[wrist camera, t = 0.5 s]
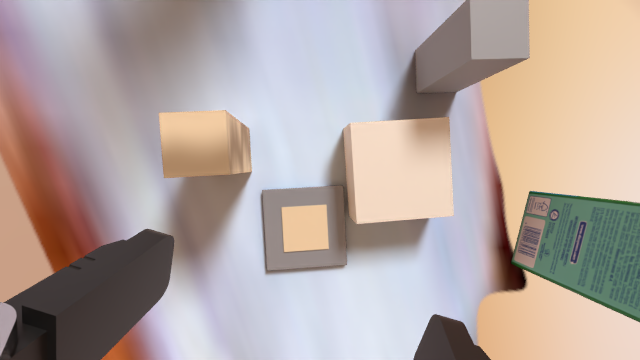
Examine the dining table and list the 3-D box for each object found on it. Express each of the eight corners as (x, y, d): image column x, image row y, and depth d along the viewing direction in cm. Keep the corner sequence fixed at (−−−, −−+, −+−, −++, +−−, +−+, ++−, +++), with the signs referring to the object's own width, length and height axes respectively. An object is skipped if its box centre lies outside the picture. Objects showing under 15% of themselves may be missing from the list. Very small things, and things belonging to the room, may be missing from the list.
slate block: (415, 50, 34) (469, -4, 23) (455, 49, 35) (528, -5, 24) (416, 93, 35) (471, 59, 24) (456, 91, 35) (529, 57, 24)
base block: (342, 129, 34) (350, 122, 29) (427, 123, 35) (449, 116, 30) (348, 215, 35) (356, 224, 30) (431, 208, 36) (453, 215, 31)
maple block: (204, 130, 33) (158, 112, 22) (249, 128, 33) (225, 110, 22) (207, 174, 33) (163, 177, 22) (251, 171, 34) (229, 174, 23)
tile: (262, 189, 34) (262, 190, 33) (342, 185, 34) (343, 185, 34) (267, 268, 34) (267, 271, 34) (346, 262, 35) (347, 265, 34)
